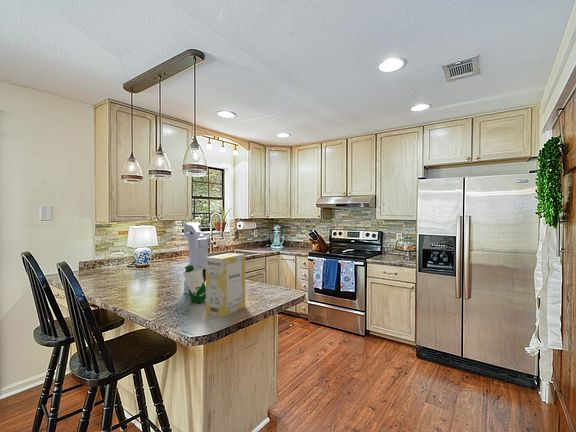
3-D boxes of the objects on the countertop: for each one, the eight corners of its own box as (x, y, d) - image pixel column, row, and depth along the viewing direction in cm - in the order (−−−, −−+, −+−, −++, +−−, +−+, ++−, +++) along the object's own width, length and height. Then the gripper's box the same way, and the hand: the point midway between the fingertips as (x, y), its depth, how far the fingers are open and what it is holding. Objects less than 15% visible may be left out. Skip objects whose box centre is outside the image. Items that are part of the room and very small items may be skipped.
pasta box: (222, 317, 141) (222, 258, 141) (206, 314, 146) (205, 257, 145) (245, 306, 157) (245, 254, 157) (229, 304, 162) (229, 252, 162)
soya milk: (200, 294, 173) (192, 263, 168) (211, 296, 168) (203, 264, 163) (188, 302, 166) (179, 270, 161) (199, 305, 161) (191, 271, 156)
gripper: (201, 261, 161) (201, 286, 161) (215, 257, 175) (215, 280, 175) (190, 260, 163) (190, 285, 163) (205, 257, 177) (205, 279, 177)
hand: (202, 282), depth 169 cm, fingers closed
